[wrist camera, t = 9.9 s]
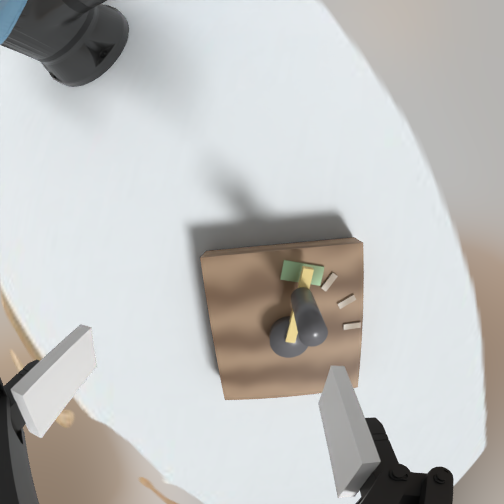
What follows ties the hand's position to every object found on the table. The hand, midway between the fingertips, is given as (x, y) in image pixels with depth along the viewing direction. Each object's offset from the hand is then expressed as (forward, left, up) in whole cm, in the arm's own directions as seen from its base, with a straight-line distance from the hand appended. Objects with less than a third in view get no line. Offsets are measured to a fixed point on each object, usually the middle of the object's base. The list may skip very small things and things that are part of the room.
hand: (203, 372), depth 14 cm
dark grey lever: (+6, +6, -22) cm, 24 cm away
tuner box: (+10, +5, -26) cm, 28 cm away
